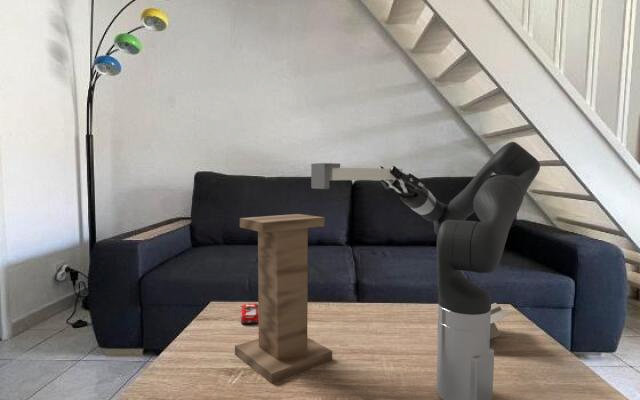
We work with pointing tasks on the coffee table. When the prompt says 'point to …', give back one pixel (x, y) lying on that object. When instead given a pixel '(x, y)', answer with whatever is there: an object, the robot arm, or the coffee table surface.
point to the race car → (249, 313)
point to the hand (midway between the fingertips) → (385, 169)
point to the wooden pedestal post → (282, 298)
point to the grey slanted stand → (496, 319)
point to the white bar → (345, 174)
